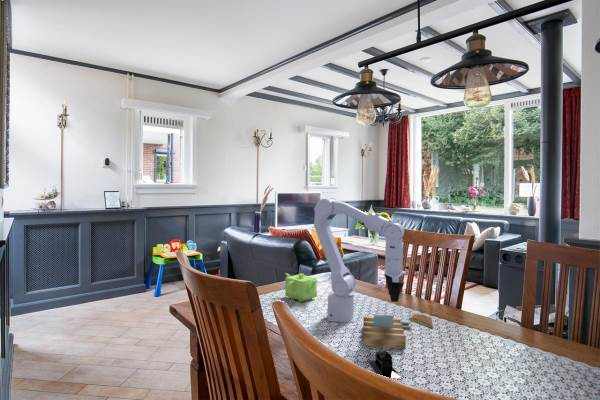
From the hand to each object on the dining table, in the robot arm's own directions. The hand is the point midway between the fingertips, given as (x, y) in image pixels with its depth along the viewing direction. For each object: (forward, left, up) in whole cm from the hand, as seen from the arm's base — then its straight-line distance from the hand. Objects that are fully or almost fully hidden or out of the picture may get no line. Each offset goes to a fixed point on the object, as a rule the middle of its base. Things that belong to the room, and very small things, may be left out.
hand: (393, 298), depth 122 cm
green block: (-36, +26, -10) cm, 46 cm away
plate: (-4, -10, -9) cm, 14 cm away
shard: (+12, +7, -11) cm, 18 cm away
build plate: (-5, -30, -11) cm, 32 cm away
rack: (-4, -10, -10) cm, 15 cm away
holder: (+2, 0, -10) cm, 10 cm away
